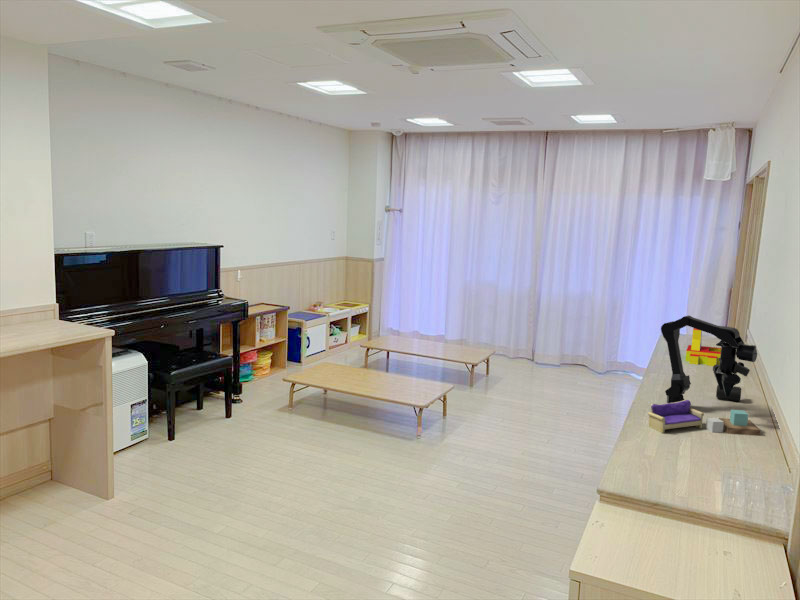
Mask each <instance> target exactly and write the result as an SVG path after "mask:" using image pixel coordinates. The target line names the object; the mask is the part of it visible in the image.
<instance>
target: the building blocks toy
mask: <svg viewBox="0 0 800 600" xmlns="http://www.w3.org/2000/svg"><path fill="white" fill-rule="evenodd" d="M702 334H703V331H701V330H698V329H696V328H693V327H692V336H691V337H692V338H691V344H688V346H687V348H686V351H685V362H688V363H689V365H697V366H698V365H706V366H708V367H713V366H714V365H720V361H719V358H720V356H721V347H717V346H716V347H714V346H713V347H712V346H704V345H703V346H702V336H703V335H702Z"/></svg>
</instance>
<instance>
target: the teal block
mask: <svg viewBox="0 0 800 600" xmlns="http://www.w3.org/2000/svg"><path fill="white" fill-rule="evenodd" d="M729 414H730V417H729V419H730V422H731V423H732V424H733V425H736V426H747V423H748V420H749V414H748V413H747V412H746V411H745V410H744V409H743V410H741V409H740V410H739V409H730V413H729Z"/></svg>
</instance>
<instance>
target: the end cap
mask: <svg viewBox="0 0 800 600" xmlns="http://www.w3.org/2000/svg"><path fill="white" fill-rule="evenodd" d="M715 395H716V399H718V400H723V401H730V402H736V403H737V402H738V403H740V402H741V400H742V399H741V397H742V388H741V387H740V386H733V388H732V390H731V393H730V395H729V396H726V395H725V391H724V387H723V390H720V389H719V386H718V385H717V386H716V394H715Z"/></svg>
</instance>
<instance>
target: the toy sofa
mask: <svg viewBox="0 0 800 600" xmlns="http://www.w3.org/2000/svg"><path fill="white" fill-rule="evenodd" d="M691 403H692V402H691V401H690V400H689V399H685V400H683V401H680V402H674V403H667V402H666V403H661V404H660V403H659V404H658V403H651V404H650V411H648V413H647V414H648V416H649V417H648V427H649V428H651V429H652V430H655V431H656V432H659V433H661V434H665V433H666V432H665V430H670V429H678V428H687V427H694V426H695V427H697V428H698V429H703V417H704V416H705V413H704V412H702V411H700V410H697V409H694V408H691Z"/></svg>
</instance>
